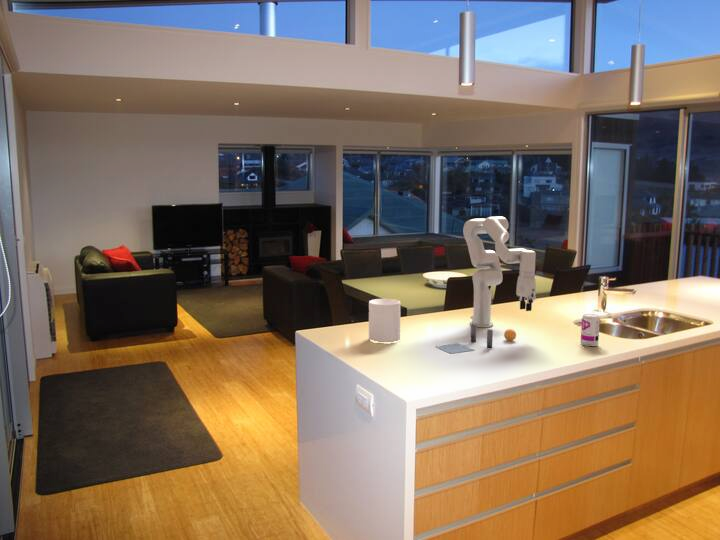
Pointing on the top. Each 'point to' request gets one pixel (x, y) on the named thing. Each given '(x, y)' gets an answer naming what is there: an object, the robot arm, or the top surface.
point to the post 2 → (489, 338)
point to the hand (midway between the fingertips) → (525, 309)
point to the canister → (384, 320)
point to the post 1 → (473, 332)
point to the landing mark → (454, 348)
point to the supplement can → (590, 330)
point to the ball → (510, 334)
